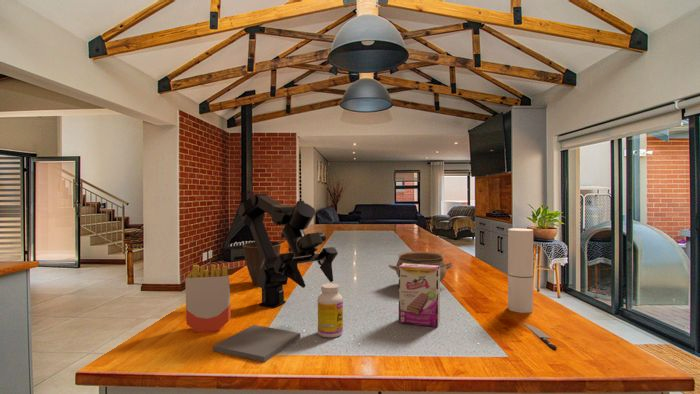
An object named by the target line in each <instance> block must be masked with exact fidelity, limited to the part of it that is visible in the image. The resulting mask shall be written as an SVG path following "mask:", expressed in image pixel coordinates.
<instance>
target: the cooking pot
mask: <svg viewBox="0 0 700 394" xmlns="http://www.w3.org/2000/svg"><path fill="white" fill-rule="evenodd" d="M397 257H398V259H397V262H396V265H392V264H389V265H388V267H389V269H392V270H393V271H395V272H396V274H397V275H396V276H397V277H398V278H399V266H400V265H401V264H402V263H408V264H422V265H436V266H440V283H441V282H442V281H443V280H444V278H445V277H446V274H447V270H448V269H450V268H452V267H453V263H452V262H448V263H445V261H444V259H443V258H444V257H445V255H444V254H442V253H438V252H433V251H418V250H417V251H416V250H415V251H405V252H400V253H398V254H397Z"/></svg>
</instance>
